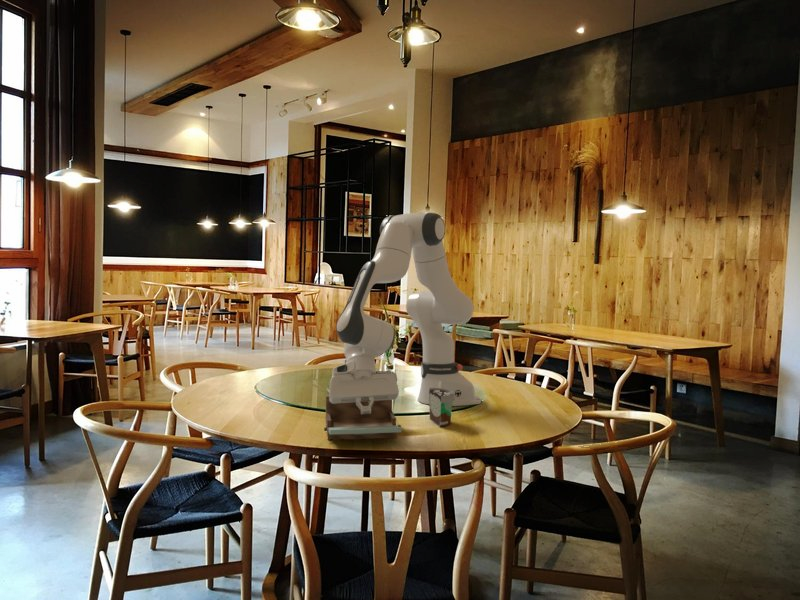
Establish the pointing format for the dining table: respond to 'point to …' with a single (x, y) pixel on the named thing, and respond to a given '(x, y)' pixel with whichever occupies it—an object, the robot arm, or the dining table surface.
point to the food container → (441, 406)
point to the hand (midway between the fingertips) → (366, 412)
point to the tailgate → (364, 430)
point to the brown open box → (359, 418)
